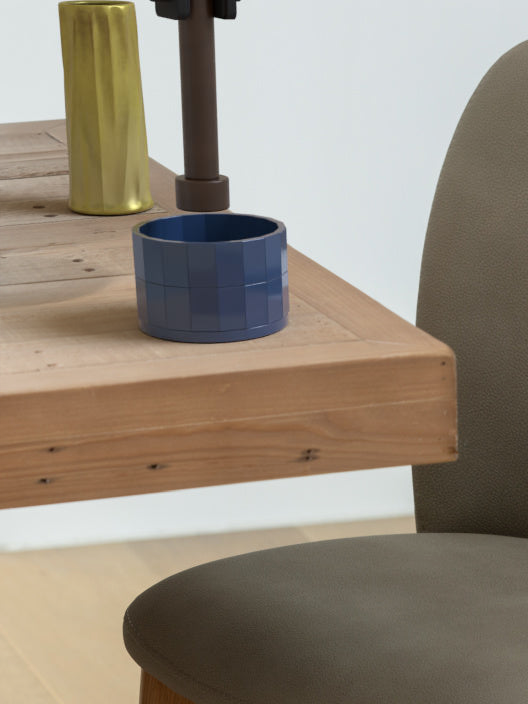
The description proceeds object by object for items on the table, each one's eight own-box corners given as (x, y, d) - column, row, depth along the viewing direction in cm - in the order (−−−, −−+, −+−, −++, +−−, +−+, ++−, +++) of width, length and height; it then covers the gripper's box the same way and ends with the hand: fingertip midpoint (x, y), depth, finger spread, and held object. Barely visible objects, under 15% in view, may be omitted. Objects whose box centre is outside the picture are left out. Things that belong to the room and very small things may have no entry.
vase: (66, 217, 110) (48, 5, 105) (70, 200, 115) (53, -1, 110) (154, 214, 111) (141, 5, 106) (154, 199, 117) (141, -1, 111)
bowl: (252, 348, 80) (247, 248, 78) (110, 334, 82) (102, 236, 80) (312, 311, 87) (309, 218, 85) (180, 299, 89) (174, 208, 87)
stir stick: (215, 214, 81) (204, -100, 75) (166, 210, 81) (152, -102, 76) (238, 205, 83) (229, -100, 78) (191, 201, 84) (178, -101, 78)
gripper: (33, -432, 65) (63, 25, 72) (369, -386, 73) (369, 22, 80) (-14, -407, 71) (18, 13, 78) (302, -367, 79) (306, 11, 86)
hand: (195, 15), depth 79 cm, fingers closed on stir stick, 2 cm apart
